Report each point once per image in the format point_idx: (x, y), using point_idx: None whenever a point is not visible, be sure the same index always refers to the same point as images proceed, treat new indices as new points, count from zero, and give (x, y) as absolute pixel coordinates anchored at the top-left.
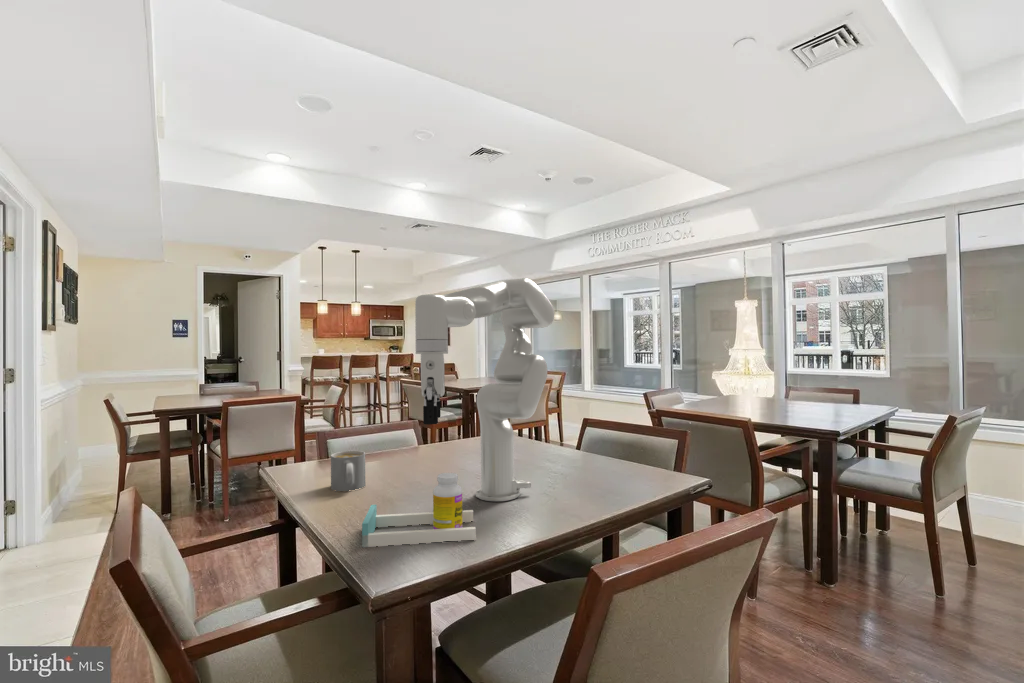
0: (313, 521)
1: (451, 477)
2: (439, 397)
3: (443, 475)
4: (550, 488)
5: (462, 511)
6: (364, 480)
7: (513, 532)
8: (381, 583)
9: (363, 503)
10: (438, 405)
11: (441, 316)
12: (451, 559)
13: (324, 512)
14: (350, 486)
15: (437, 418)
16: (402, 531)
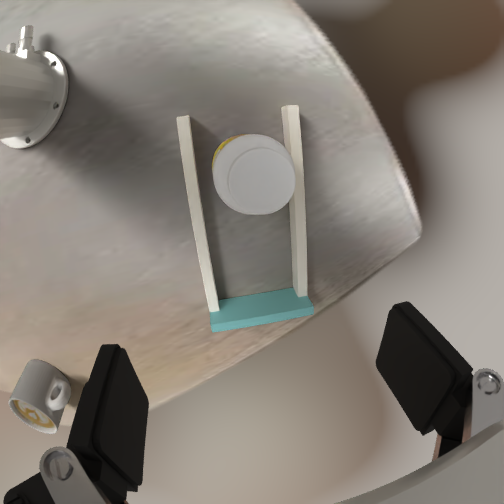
0: (194, 383)
1: (291, 167)
2: (42, 469)
3: (265, 195)
4: (12, 13)
5: (186, 140)
6: (34, 367)
7: (254, 38)
8: (405, 234)
9: None
10: (108, 425)
11: None
12: (361, 149)
13: (156, 382)
14: (60, 378)
15: (422, 318)
16: (298, 245)
